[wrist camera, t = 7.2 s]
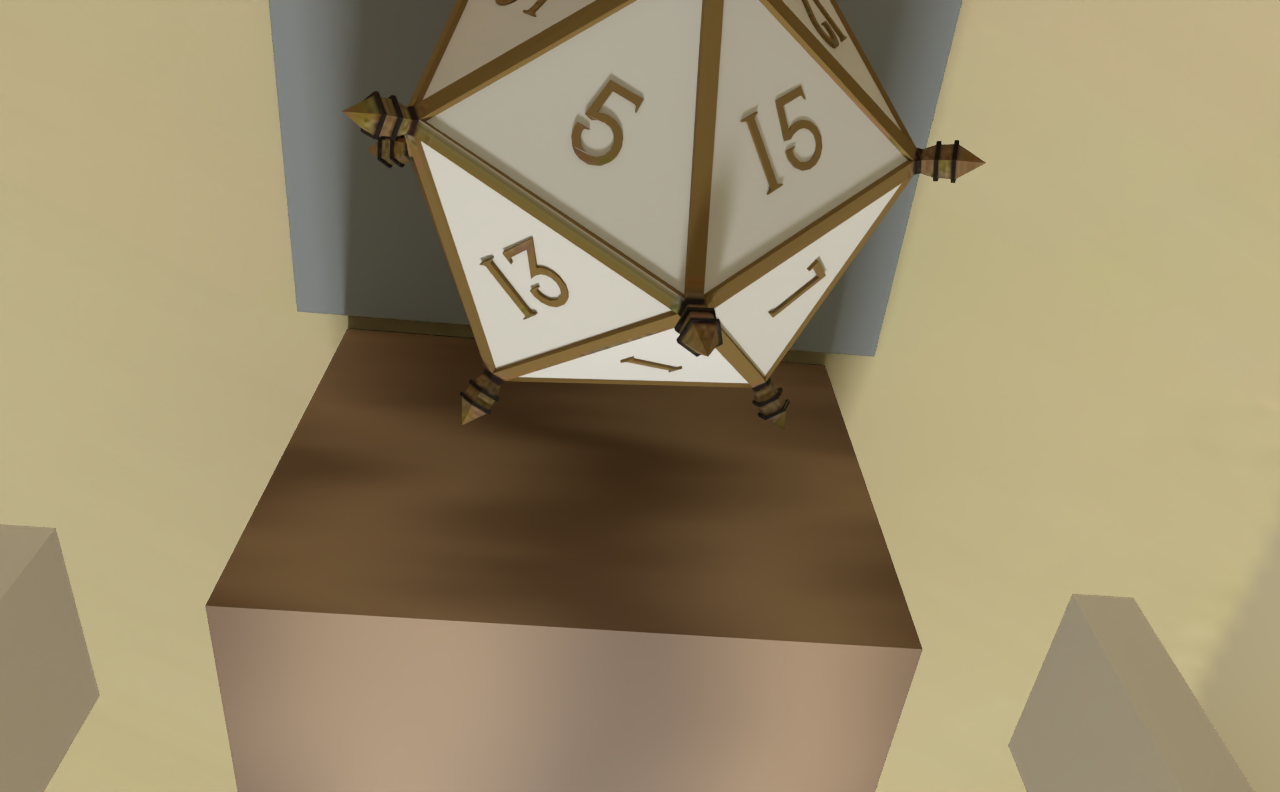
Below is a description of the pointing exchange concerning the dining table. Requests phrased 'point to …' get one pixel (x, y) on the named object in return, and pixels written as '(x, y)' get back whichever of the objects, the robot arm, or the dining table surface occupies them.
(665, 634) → the cardboard box
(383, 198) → the mat
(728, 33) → the game die
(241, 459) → the dining table surface
